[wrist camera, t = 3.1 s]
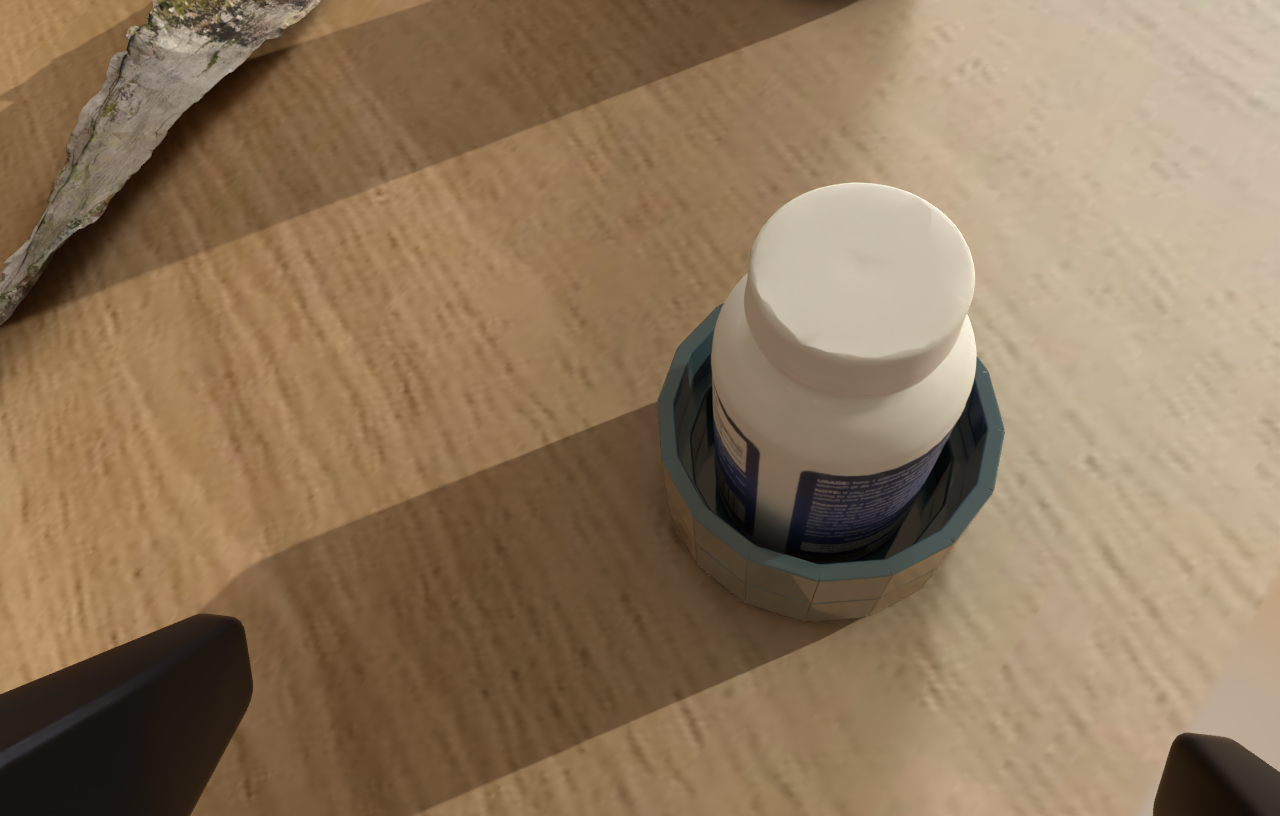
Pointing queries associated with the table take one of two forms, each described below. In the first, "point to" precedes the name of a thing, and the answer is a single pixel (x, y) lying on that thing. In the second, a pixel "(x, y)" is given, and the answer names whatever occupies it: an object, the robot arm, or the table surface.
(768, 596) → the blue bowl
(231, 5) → the driftwood
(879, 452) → the pill bottle
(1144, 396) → the table surface
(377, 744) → the table surface
